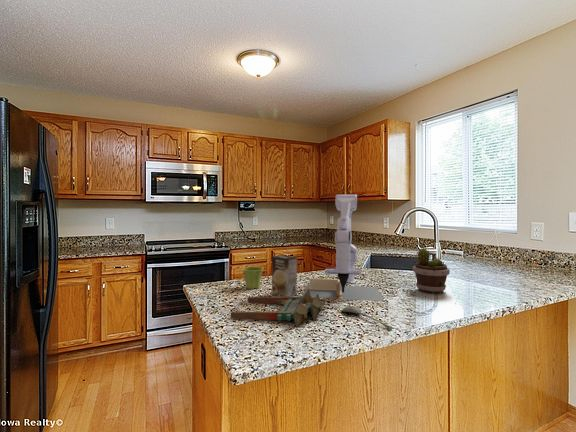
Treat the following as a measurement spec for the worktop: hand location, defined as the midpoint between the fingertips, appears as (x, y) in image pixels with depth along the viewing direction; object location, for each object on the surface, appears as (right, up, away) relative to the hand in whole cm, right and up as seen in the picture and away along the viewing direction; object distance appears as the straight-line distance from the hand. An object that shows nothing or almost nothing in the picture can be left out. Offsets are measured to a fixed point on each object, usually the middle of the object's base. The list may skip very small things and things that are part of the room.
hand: (342, 291), depth 131 cm
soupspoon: (+3, -3, -26) cm, 27 cm away
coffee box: (-24, -2, +2) cm, 24 cm away
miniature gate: (-25, -3, -20) cm, 32 cm away
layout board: (0, -2, +5) cm, 5 cm away
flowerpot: (+40, -2, +9) cm, 42 cm away
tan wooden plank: (-2, -1, +1) cm, 2 cm away
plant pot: (-39, -2, +14) cm, 41 cm away
